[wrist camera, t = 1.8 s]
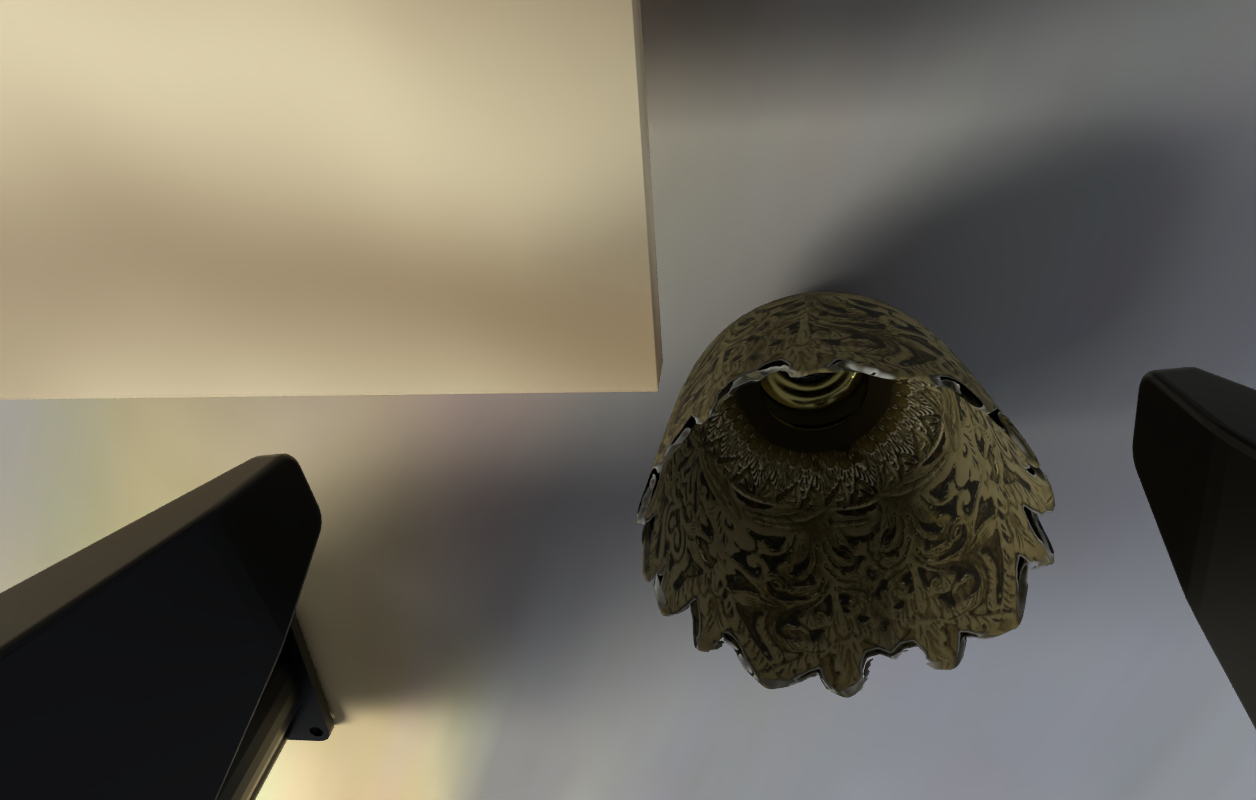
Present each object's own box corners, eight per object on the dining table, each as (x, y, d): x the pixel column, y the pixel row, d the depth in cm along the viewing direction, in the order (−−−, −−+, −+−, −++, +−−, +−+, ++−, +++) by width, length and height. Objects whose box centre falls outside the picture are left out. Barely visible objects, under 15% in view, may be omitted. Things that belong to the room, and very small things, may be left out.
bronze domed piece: (911, 167, 20) (1004, 310, 13) (990, 423, 23) (1098, 647, 16) (620, 282, 22) (567, 456, 15) (727, 501, 25) (723, 728, 18)
